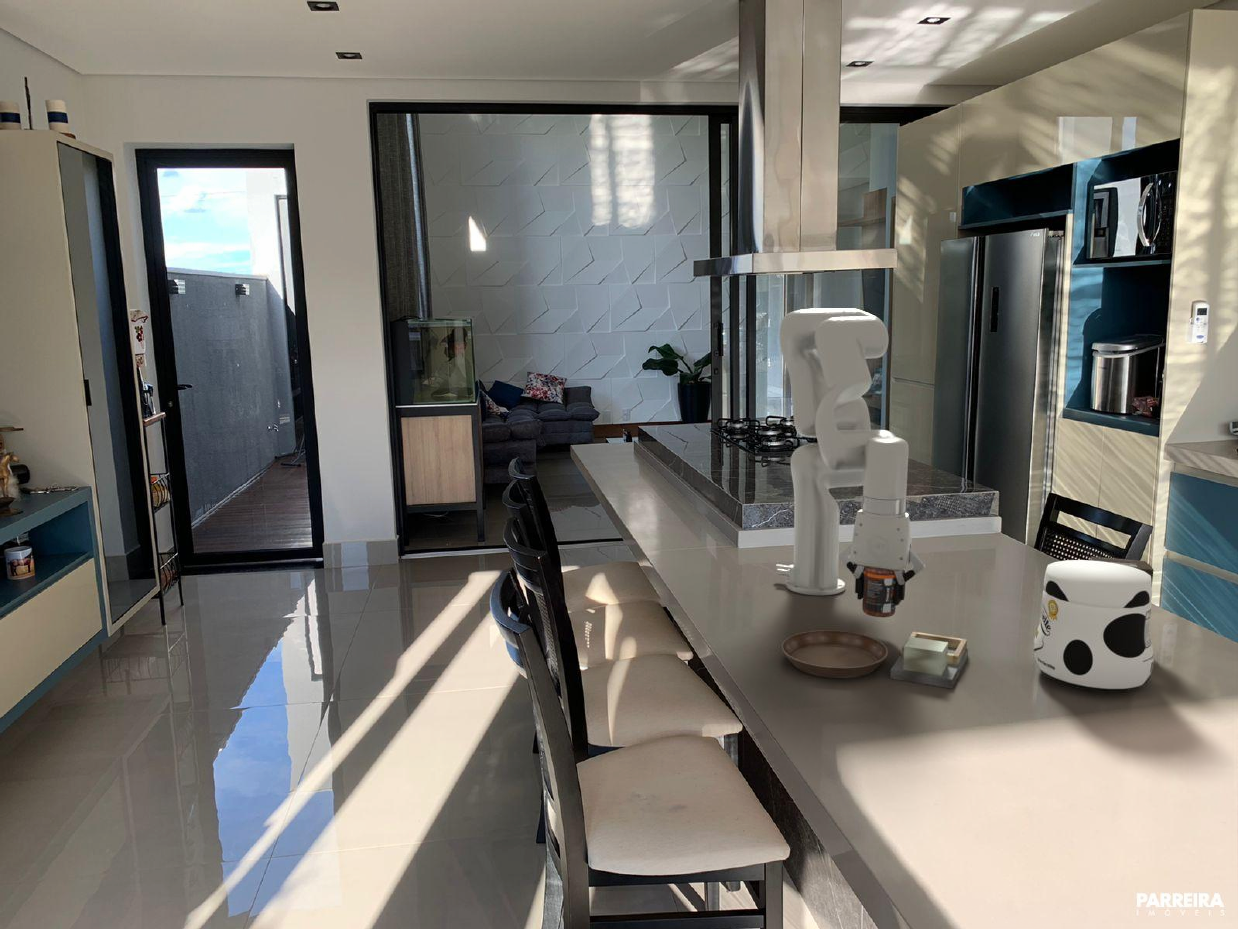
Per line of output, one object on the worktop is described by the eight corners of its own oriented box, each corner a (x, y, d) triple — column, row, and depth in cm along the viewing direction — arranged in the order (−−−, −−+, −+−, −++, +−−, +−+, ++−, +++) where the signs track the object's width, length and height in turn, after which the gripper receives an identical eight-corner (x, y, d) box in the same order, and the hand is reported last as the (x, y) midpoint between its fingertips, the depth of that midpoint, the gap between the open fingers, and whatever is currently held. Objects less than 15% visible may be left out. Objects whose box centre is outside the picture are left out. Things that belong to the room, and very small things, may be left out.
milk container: (1012, 662, 161) (1018, 560, 158) (1109, 658, 162) (1116, 556, 159) (1068, 704, 144) (1076, 590, 141) (1176, 698, 145) (1186, 585, 142)
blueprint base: (890, 678, 154) (891, 646, 154) (911, 647, 168) (912, 617, 167) (951, 688, 150) (953, 655, 149) (967, 656, 164) (969, 625, 163)
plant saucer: (805, 688, 152) (805, 670, 151) (766, 650, 169) (767, 633, 168) (906, 678, 155) (907, 661, 154) (858, 642, 172) (859, 626, 172)
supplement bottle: (896, 619, 171) (900, 559, 168) (862, 617, 172) (865, 558, 170) (894, 608, 176) (897, 550, 174) (861, 606, 178) (864, 548, 175)
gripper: (831, 504, 171) (827, 599, 175) (929, 515, 163) (923, 614, 166) (842, 496, 177) (838, 587, 181) (937, 506, 169) (931, 601, 173)
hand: (879, 599), depth 174 cm, fingers closed on supplement bottle, 6 cm apart
